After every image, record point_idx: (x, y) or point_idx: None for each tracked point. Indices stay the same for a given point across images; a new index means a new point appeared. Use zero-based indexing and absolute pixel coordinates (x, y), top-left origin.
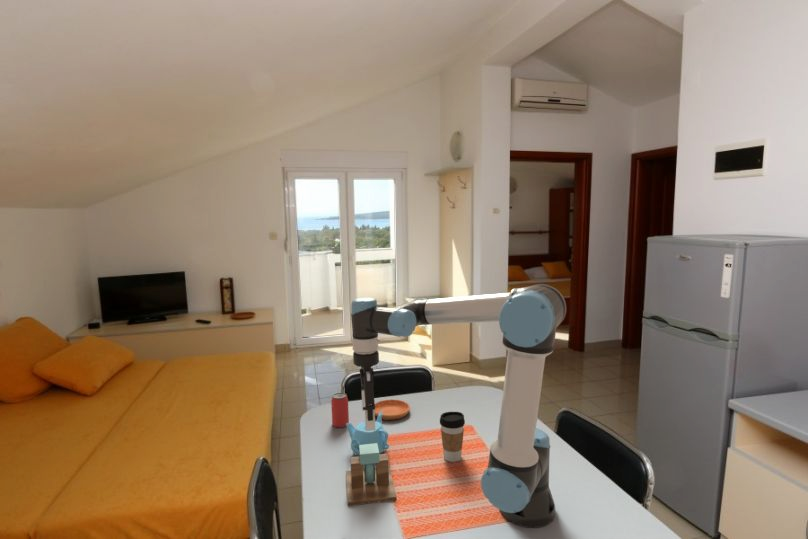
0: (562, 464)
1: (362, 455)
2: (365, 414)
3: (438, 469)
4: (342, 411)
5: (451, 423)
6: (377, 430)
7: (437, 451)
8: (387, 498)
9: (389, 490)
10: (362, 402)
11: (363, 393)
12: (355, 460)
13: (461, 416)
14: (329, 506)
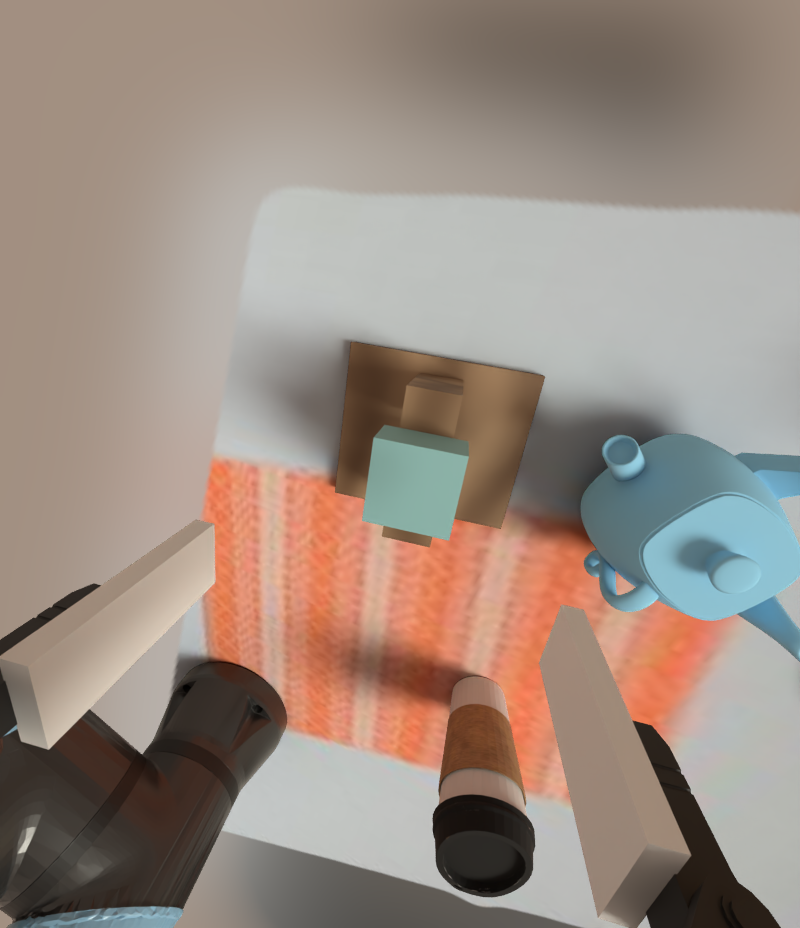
0: (351, 835)
1: (373, 445)
2: (71, 609)
3: (435, 639)
4: None
5: (442, 829)
6: (649, 582)
7: (528, 680)
8: (338, 466)
9: None
10: (584, 671)
11: (618, 801)
12: (427, 411)
13: (472, 878)
14: (370, 275)
